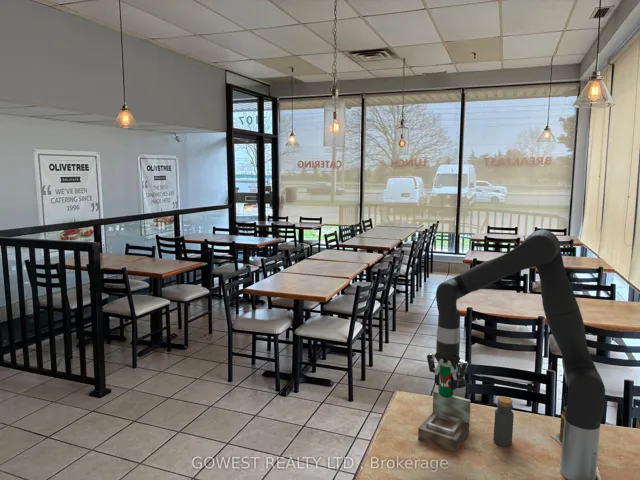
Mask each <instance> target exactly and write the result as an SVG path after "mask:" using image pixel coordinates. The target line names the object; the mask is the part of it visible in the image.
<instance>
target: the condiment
mask: <svg viewBox="0 0 640 480" xmlns="http://www.w3.org/2000/svg"><path fill="white" fill-rule="evenodd" d="M566 408H567V405H564V406H563V408H562V413H561V416H560V424H559V425H560V428H559V433H556V434H550V435H549V436H550V437H551V438H553V439H554V440H555V441H557V442H558V443H559V444H560V445H562V443H563V430H564V418H565V410H566Z"/></svg>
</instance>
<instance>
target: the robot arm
mask: <svg viewBox="0 0 640 480" xmlns="http://www.w3.org/2000/svg"><path fill="white" fill-rule="evenodd" d="M561 249H562V248H561V243H560V240H559V238H558V237H557V236H556V235H555V234H554V233H553V231H550V230H548V229H538V230H535V231H533V232H531V234H529V235H528V236H527V237H526V238H525V239H524V241H522V242H521V243H520V244H518V245H517V246H516V247H513V249H511V250H509V251H507V252H506V253H504V254H501V255H500V256H497V257H495V258H492V259H489V260H486V261H483V262H482V263H479V264H478V265H475V266H472V267H471V268H469V269H468V270H466V271H464V272H463V273H461V274H458V275H457V276H454V277H452V278H449V279H448V280H445V281H442V282H441V283H440V284H439V285H438V286H437V288H436V292H435V299H436V306H437V310H438V315H437V317H438V319H437V329H436V345H435V346H436V347H435V348H436V350H435V353H433V352H429V353H428V354H427V355H426V360H427V365H428V369H429V372H430V373H433V374H434V384H435V386H439V370H440V364H442V363H443V362H446V363H448V365H449V366H450V367H451V373H452V375H453V384H452V390H455V389H457V387H458V380H459V379H460V380H462V379H463V378H465V376H466V373H467V369H468V366H469V363H470V362H469V361H467V360H465V361H464V360H463V359H461V357H460V351H461V350H460V346H461V345H460V344H461V329H460V328H461V312H460V310H459V309H458V306H457V305H458V304H457V302H458V301H457V300H460V299H462V298H463V297H465V296H466V295H468V294H470V293H473V292H477V291H479V290H482V289H484V288H486V287H487V286H491V285H492V284H494V283H496V282H498V281H500V280H501V279H504V278H506V277H508V276H510V275H513V274H516V273H518V272H521V271H524V270H527V269H530V268H534V267H535V268H536V270H537V273H538V277H539V281H540V291H541V302H542V307H543V312H544V315H545V318H546V321H547V324H548V327H549V330H550V332H551V334H552V336H553V339H554V341H555V342H556V344H557V347H559V351H560V353H561V356H562V357H561V358H562V359H563V361H562V362H563V364H564V366H563V367H564V371H565V375H566V376H565V377H566V378H565V379H566V384H567V388H568V389H567V399H566V406H567V408H566V410H565V418H564V430H563V443H562V444H561V445H562V446H561V456H560V457H561V458H560V459H561V460H560V474H561V475H562V476H563V478H565V479H567V480H596V477H597V469H598V456H599V448H600V447H599V443H600V431H601V422H602V419H603V416H604V408H605V401H606V400H605V399H606V388H605V384H604V381H603V379H602V376H601V375H600V373H599V371H598V369H597V367H596V365H595V363H594V360H593V359H592V356H591V354H590V350H589V348H588V343H587V334H586V329H585V323H584V319H583V316H582V312H581V309H580V307H579V304H578V301H577V298H576V295H575V293H574V290H573V287H572V285H571V283H570V280H569V277H568V275H567V272H566V267H565V265H564V259H563V254H562V250H561ZM435 360H436V362H437V366H436V365H435ZM458 364H459V366H460V372H459V371H458V370H459V368H458ZM454 367H455V369H454Z"/></svg>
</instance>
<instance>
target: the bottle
mask: <svg viewBox="0 0 640 480" xmlns="http://www.w3.org/2000/svg"><path fill="white" fill-rule="evenodd" d="M513 402H514V400H513V399H512V398H511V397H508V396H503V395H502V396H498V397H497V402H496V408H495V411H494V423H493V425H494V426H493V442H494V443H495V444H497V445H499V446H503V447H508V446H511V445H512V444H513V432H514V417H515V415H514V412H513V409H514V405H513Z"/></svg>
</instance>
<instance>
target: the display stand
mask: <svg viewBox="0 0 640 480" xmlns="http://www.w3.org/2000/svg"><path fill="white" fill-rule="evenodd" d="M432 394H433V395H432V412H431V413H430V414H429V416H428V417H427V418H426V419H425V420H424V421H423V422H422V424H420V425H419V426H418V428H417V429H418V432H417V433H418V434H417V440H420V441H423V442H425V443H428V444H432V445H435V446H438V447H440V448H443V449H447V450H449V451H452V452H457V450H458V449H459V448H460V446H461V445H462V443H463V442H464V440H465V439H466V438H467V436H468V435H469V433H470V422H471V402H472V401H471V399H468V398H461V397H458V396H454V395H453V396H452V397H449V398H445V397H442V396H440V395H439V393H438V390H433V392H432Z"/></svg>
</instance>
